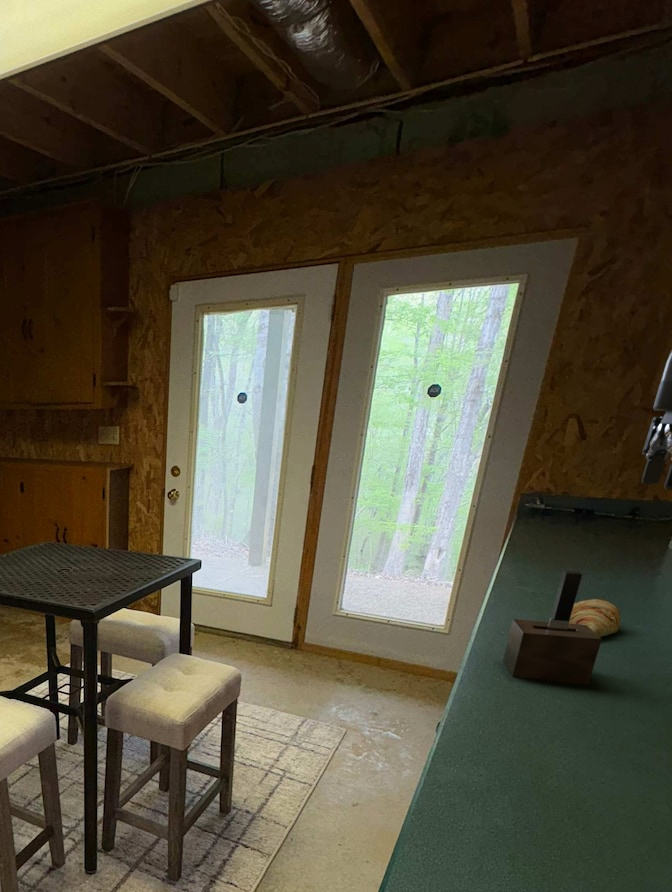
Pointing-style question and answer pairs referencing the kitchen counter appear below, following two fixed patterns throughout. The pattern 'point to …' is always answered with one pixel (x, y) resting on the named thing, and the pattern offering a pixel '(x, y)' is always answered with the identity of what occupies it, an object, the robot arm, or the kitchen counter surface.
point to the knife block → (551, 652)
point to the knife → (565, 601)
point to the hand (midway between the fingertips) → (660, 486)
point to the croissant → (596, 616)
